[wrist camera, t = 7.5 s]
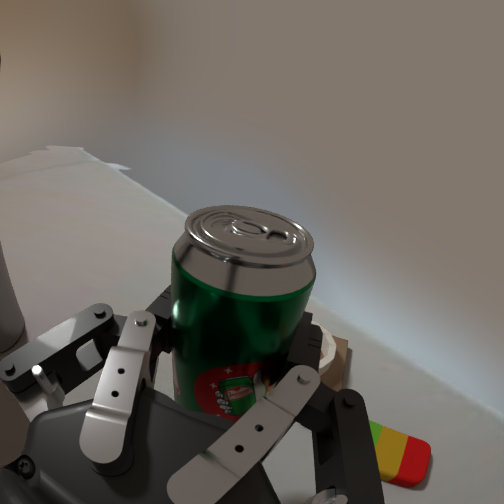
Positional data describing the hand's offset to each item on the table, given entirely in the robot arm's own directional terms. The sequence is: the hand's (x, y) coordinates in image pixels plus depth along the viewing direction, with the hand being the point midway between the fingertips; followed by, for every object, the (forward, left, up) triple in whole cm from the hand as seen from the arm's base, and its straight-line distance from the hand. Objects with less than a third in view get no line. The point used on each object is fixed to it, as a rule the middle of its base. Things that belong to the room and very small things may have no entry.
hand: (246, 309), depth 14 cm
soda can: (0, -3, -7) cm, 7 cm away
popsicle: (+13, +3, -16) cm, 21 cm away
